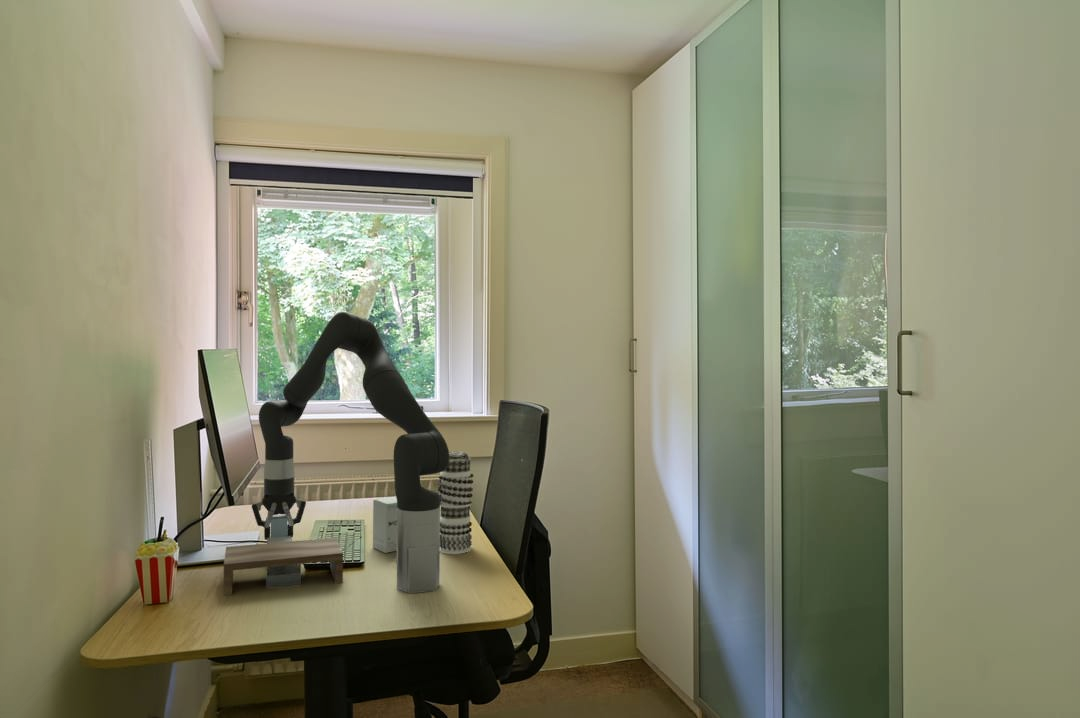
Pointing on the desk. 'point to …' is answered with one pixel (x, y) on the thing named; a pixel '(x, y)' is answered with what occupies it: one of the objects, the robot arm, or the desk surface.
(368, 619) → the desk surface
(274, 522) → the grey bar
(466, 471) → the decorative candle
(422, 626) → the desk surface
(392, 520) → the supplement box
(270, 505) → the robot arm
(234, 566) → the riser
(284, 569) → the grey flat block
